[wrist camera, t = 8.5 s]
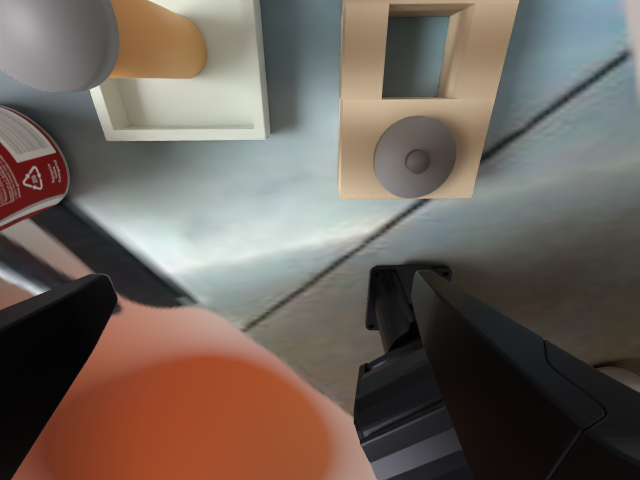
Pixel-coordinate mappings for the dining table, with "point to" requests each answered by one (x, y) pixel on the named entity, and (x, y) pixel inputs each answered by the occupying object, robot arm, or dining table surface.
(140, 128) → the tray
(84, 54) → the pin
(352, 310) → the dining table surface
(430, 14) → the block
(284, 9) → the dining table surface
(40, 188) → the soda can
